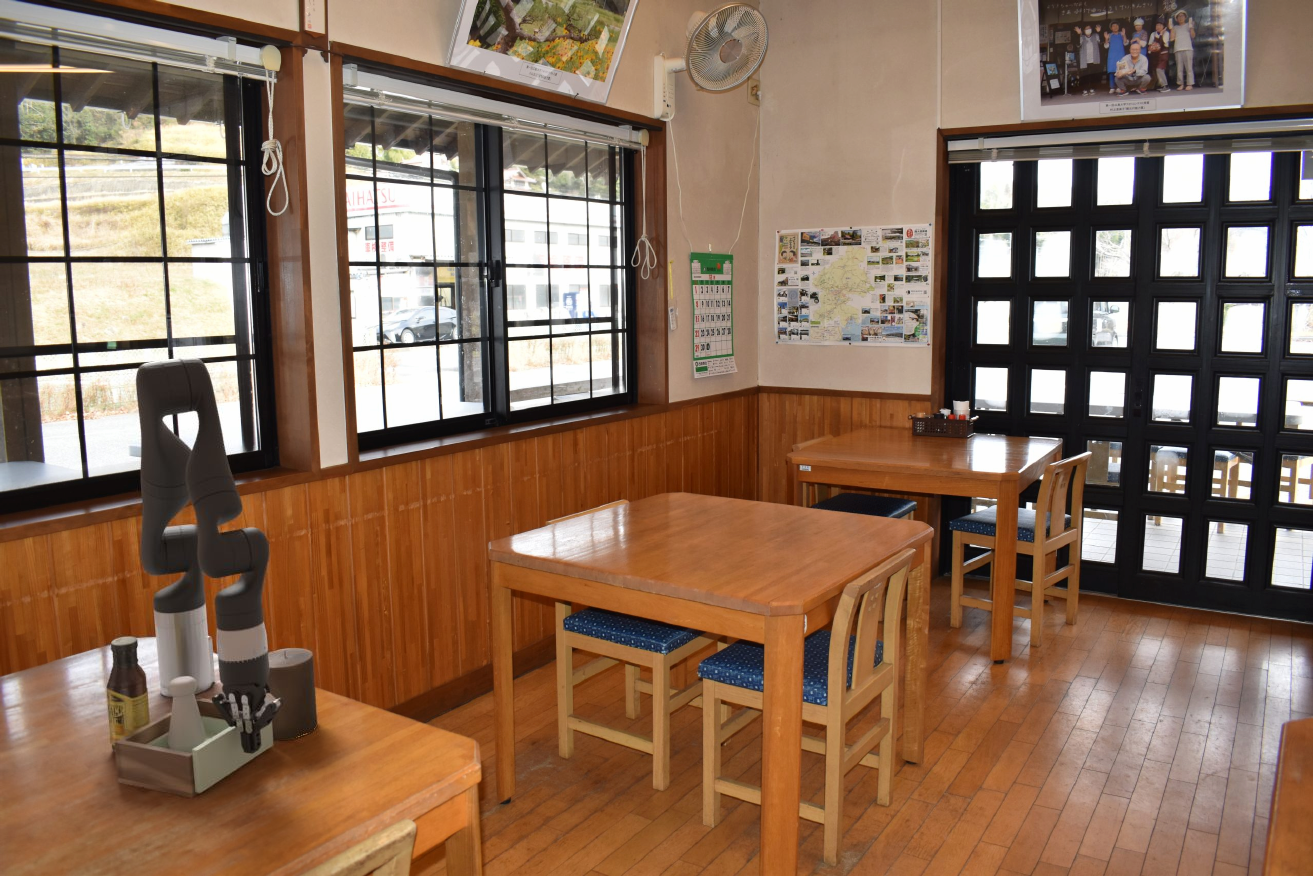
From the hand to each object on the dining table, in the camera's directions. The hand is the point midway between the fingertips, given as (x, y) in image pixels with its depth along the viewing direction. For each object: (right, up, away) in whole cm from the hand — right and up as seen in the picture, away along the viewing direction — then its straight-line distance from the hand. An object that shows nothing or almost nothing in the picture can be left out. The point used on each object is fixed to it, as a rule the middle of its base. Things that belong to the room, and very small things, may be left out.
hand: (251, 751), depth 162 cm
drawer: (-10, -3, +4) cm, 11 cm away
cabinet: (-11, -4, +4) cm, 12 cm away
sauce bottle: (-25, -3, +10) cm, 27 cm away
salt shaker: (-13, -2, +4) cm, 13 cm away
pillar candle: (0, -2, +17) cm, 17 cm away
